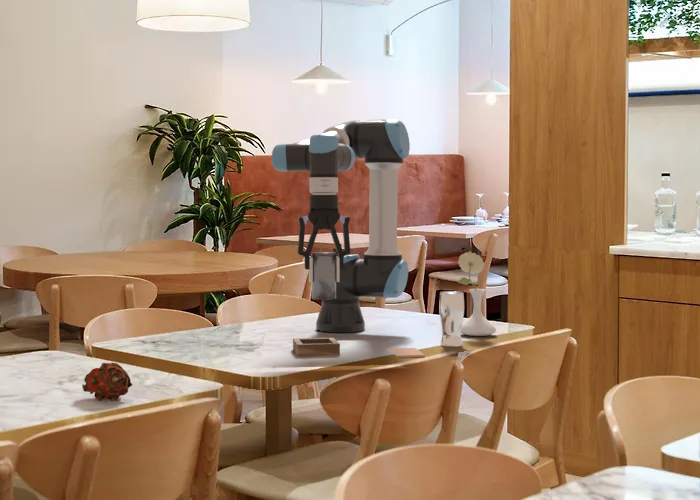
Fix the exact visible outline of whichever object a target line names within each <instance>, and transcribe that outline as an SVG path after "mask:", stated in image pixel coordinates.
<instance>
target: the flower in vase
mask: <svg viewBox="0 0 700 500" xmlns="http://www.w3.org/2000/svg"><path fill="white" fill-rule="evenodd" d="M483 260H484V259H483V258H482V257H481V255H480V254H476V252H473V253H472V252H471V251H468V252H464V253H462V254H461V255H459V258H458V261H457V264H458V265H459V266H458V267H460V268H461V269H460V270H461V271H462V272H465V273H468V278H467V277H461V278H460V279H459V280H458V281H457V283H458V284H462V285H465V286H468V285H469V283H471V285H472V286H473V288H471V289H468V291H469V292H470V295H471V296H472V302H473V310H472V314H471V315H470V317H468V318H467V319H466V320H465V321H463V322H462V327H461V335H462V334H463V335H466V336H469V337H472V336H473V337H486V336H490V335H493V334H495V333H496V332H497V328H496V327H495V326H494V324H493V323H491V322H490V320H488V319H487V318H486V317H485V316H484V315H483V313H482V300H483V296H484V293H485V292H486V290H487V289H486V288H485V289H483V288H476V286H477V285H480V284H482V283H483V282H485V280H486V277H485V278H484V279H482V280H478V282H476V283H475V284H474V283H473V282H472V279H471V275H475V274H479V273H481V272H483V270H484V267H485V262H484V261H483Z"/></svg>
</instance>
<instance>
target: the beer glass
mask: <svg viewBox="0 0 700 500" xmlns="http://www.w3.org/2000/svg"><path fill="white" fill-rule="evenodd" d="M464 297H465V296H464V292H463V291H453V290H451V291H447V290H446V291H440V292H439V307H438V308H439V310H438V311H439V318H440V324H441V325H440V326H441V339H440V340H441V341H440V346H441V347H446V348H459V347H462V346H463V339H462V333H461V327H462V323H464V321H463V320H464V315H465V298H464Z"/></svg>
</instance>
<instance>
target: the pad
mask: <svg viewBox="0 0 700 500" xmlns="http://www.w3.org/2000/svg"><path fill="white" fill-rule="evenodd" d="M387 350H389V352H391V353H392V354H394V356H396V357H398V359H399V358H400V359H405V358H406V359H408V358H412V359H413V358H425V353H422V352H421V351H420V350H419V349H417V348H415V347H393V348H392V347H391V348H389V347H388V348H387Z"/></svg>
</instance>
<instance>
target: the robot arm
mask: <svg viewBox="0 0 700 500" xmlns="http://www.w3.org/2000/svg"><path fill="white" fill-rule="evenodd" d="M410 146H411V145H410V137H409V133H408V129H407V127H406V125H405V124H404V122H402V121H401V120H399V119H366V120H365V119H364V120H360V119H359V120H357V119H355V120H349V121H345V122H341V123H339V124H337V125H334V126H331V127H328V128H326V129H325V130H324V131H323V132H322V133H320V134H312V135H311V136H310V137H309V138H306V139H304V140H300V141H297V142H294V143H282V144H281V143H279V144H276V145H275V146H274V147H273V149H272V152H271V162H272V163H271V164H272V166H273V168H274V170H276V171H278V172H286V173H288V172H309V193H311V194H310V195H309V211H308V214H307V215H305V216H299V217H298V218H297V221H298V225H299V228H298V229H299V231H298V242H297V254H298V255H299V256H302V257H303V258H304V269H305V270H308V282H309V283H312V282H313V258H312V256H311V255H312V250H313V248H314V245H315V241H316V238H317V236H318V234H319V230H328V231H329V232H330V235H331V238H332V241H333V244H334V246H335V251H336V254H337V255H336V299H332V300H321V306H320V310H319V312H318V316H317V318H316V325H315V327H316V328H315V329H317V330H316V331H318V330H320V331H319V332H323V331H327V332H326V333H336V332H345V333H355V332H356V333H359V332H362V331H365V330H366V323H365V320H364V316H363V313H362V309H361V306H360V298H384V299H392V298H393V299H394V298H395V299H396V298H399V297H400V296H401V295H402V294H403V292H404V291H405V288H406V286H407V284H408V283H407V282H408V279H409V265H408V261H406V260H405V259H403V253H402V252H401V251H400V250H399V249H398V197H399V196H398V194H399V193H398V192H399V191H398V189H399V188H398V187H399V186H398V185H399V184H398V183H399V182H398V178H399V177H398V176H399V169H400V168H401V167H402V166H403V165H404V160H405V159H407V158H408V157H409V154H410V150H411V149H410ZM356 159H364V165H365V166H366V167H367V169H368V170H369V195H368V197H369V201H368V203H369V205H368V207H369V209H368V211H369V212H368V213H369V214H368V220H369V221H368V222H369V223H368V248H367V250H366V251H364V253H363V258H361V257H360V255H359V254H358V253H355V254H351V244H350V243H351V242H350V232H349V224H350V221H351V218H350V217H349V216H343V215H341V214H340V212H339V195H337V193H338V192H339V178H338V177H339V173H343V172H346V171H349V170H350V169H352V168H353V166H354V164H355V162H356ZM339 220H340V224H341V225H342V235H343V236H342V237H343V238H342V239H343V247H344V249H342V245H341V242H340V238H339V236H338V233H337V230H336V227H335V225H336V224H337V222H339ZM308 221H309V222H310V224H312V229H311V233H310V235H309V239H308V242H307V244H306V248H305V251H304V245H305V234H306V225H308Z"/></svg>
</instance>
